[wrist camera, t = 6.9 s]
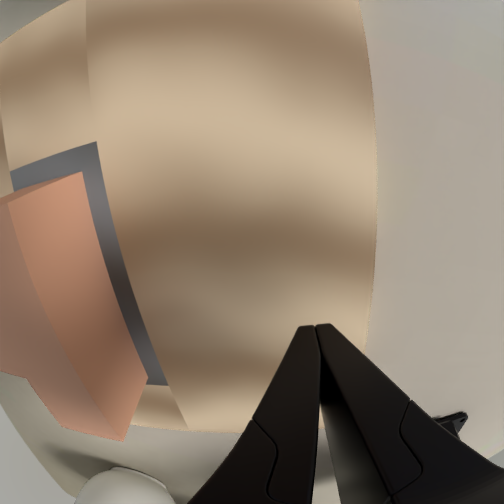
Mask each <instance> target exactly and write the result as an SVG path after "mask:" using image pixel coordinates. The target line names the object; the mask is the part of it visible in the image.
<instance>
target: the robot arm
mask: <svg viewBox="0 0 504 504" xmlns="http://www.w3.org/2000/svg"><path fill="white" fill-rule="evenodd" d="M320 408H321V413H322V417H323V422H324V426H325V430H326V435H327V439H328V444H329V449H330V453H331V458H332V462H333V467H334V472H335V477H336V481H337V486H338V491H339V496H340V501H341V504H504V468H501V467H499V466H497V465H495V464H494V463H492V462H490V461H489V460H487V459H486V458H485V457H483V456H482V455H480V454H479V453H478V452H476V451H475V450H473V449H472V448H471V447H469V446H468V445H466V444H465V443H464V442H462V441H461V440H460V437H459V435H458V432H459V431H460V429H461V428H462V426H463V425H464V423H465V422H466V420H467V419H468V416H467V414H466V413H465V412H464V413H461V414H458V415H455V416H452V417H449V418H446V419H443V420H439V421H435V420H434V419H432V418H431V417H430V416H429V415H428V414H427V413H426V412H425V411H423V410H422V409H421V408H420V407H419V406H418V405H417V404H416V403H415V402H414V401H413V400H410V398H409V397H408V396H407V395H406V394H405V393H404V392H403V391H402V390H401V389H400V388H399V387H398V386H397V385H396V384H395V383H394V382H393V381H392V380H390V379H389V378H388V377H387V376H386V375H385V374H384V373H383V372H382V371H381V370H380V369H379V368H378V367H377V366H376V365H375V364H374V363H373V362H371V361H370V360H369V359H368V358H367V357H366V356H365V355H364V354H363V353H362V352H361V351H360V350H359V349H358V348H357V347H356V346H355V345H353V344H352V343H351V342H350V341H349V340H348V339H347V338H346V337H345V336H344V335H343V334H342V333H341V332H340V331H339V330H338V329H337V328H335V327H334V326H333V325H332V324H331V323H324V324H317V325H315V326H314V325H303V326H299V327H298V328H297V330H296V332H295V334H294V336H293V338H292V340H291V342H290V344H289V347H288V349H287V351H286V353H285V355H284V357H283V359H282V361H281V363H280V365H279V367H278V369H277V371H276V372H275V374H274V376H273V378H272V380H271V382H270V384H269V386H268V388H267V390H266V392H265V394H264V395H263V397H262V399H261V401H260V403H259V405H258V407H257V409H256V410H255V412H254V414H253V416H252V420H250V421H249V423H248V424H247V426H246V428H245V430H244V432H243V433H242V435H241V436H240V438H239V440H238V441H237V443H236V444H235V446H234V448H233V449H232V451H231V452H230V453H229V455H228V456H227V457H226V458H225V460H224V461H223V462H222V464H221V465H220V466H219V468H218V469H217V470H216V471H215V472H214V474H213V475H212V476H211V477H210V478H209V479H208V481H207V482H206V483H205V484H204V485H203V486H202V487H201V489H200V490H199V491H198V492H197V493H196V494H195V495H194V496H193V498H192V499H191V500H190V501H189V502H188V503H187V504H312V496H313V487H314V477H315V467H316V456H317V443H318V429H319V413H320Z"/></svg>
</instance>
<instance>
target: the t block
mask: <svg viewBox="0 0 504 504" xmlns="http://www.w3.org/2000/svg"><path fill="white" fill-rule="evenodd" d="M0 371H2V372H5V373H8V374H12V375H15V376H19V377H22V378H26V379H27V380H28V382H29V383H30V385H31V386H32V388H33V389H34V391H35V392H36V393H37V395H38V396H39V398H40V399H41V400H42V402H43V403H44V404H45V406H46V407H47V408H48V410H49V411H50V412H51V414H52V415H53V416H54V417H55V419H56V420H57V421H58V422H59V424H60V425H61V426H62V427H65V428H68V429H72V430H75V431H79V432H83V433H87V434H91V435H95V436H99V437H103V438H108V439H112V440H117V441H122V442H123V441H124V438H125V436H126V433H127V430H128V428H129V425H130V422H131V420H132V417H133V415H134V412H135V409H136V407H137V404H138V402H139V399H140V397H141V394H142V392H143V389H144V387H145V384H146V382H147V379H148V376H147V373H146V371H145V369H144V367H143V364H142V362H141V360H140V358H139V355H138V353H137V351H136V348H135V346H134V343H133V341H132V338H131V336H130V333H129V331H128V328H127V326H126V323H125V320H124V318H123V315H122V312H121V310H120V307H119V304H118V301H117V298H116V296H115V293H114V290H113V287H112V284H111V281H110V278H109V275H108V271H107V268H106V265H105V262H104V258H103V255H102V252H101V248H100V245H99V241H98V237H97V234H96V230H95V226H94V222H93V218H92V214H91V210H90V206H89V202H88V197H87V193H86V188H85V184H84V179H83V174H82V171H81V172H77V173H73V174H70V175H66V176H62V177H59V178H55V179H52V180H48V181H45V182H41V183H38V184H35V185H32V186H28V187H25V188H22V189H20V190H17V191H15V192H13V193H11V194H8V195H6V196H4V197H2V198H0Z"/></svg>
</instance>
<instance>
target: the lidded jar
mask: <svg viewBox="0 0 504 504" xmlns="http://www.w3.org/2000/svg"><path fill="white" fill-rule="evenodd" d="M166 489H167V488H166V486H165V485H164V484H163V483H162V482H160V481H159V480H157V479H155V478H153V477H151V476H149V475H146V474H144V473H141V472H138V471H135V470H132V469H128V468H124V467H112V468H111V470H109V471H104V472H101V473H99V474H96V475H95V476H93V477H92V478H91V479H89V480H88V481H87V482H86V483H85V485H84V486H83V487H82V489H81V490H80V492H79V494H78V496H77V498H76V500H75V503H74V504H176V503H175V501H174V500H173V498H172V497H171V495H170V494H169V493H168V492H167V491H166Z"/></svg>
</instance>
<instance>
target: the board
mask: <svg viewBox="0 0 504 504" xmlns="http://www.w3.org/2000/svg"><path fill="white" fill-rule="evenodd" d="M81 171H82V174H83V179H84V184H85V188H86V193H87V197H88V202H89V206H90V210H91V214H92V218H93V222H94V226H95V230H96V234H97V237H98V241H99V245H100V248H101V252H102V255H103V258H104V262H105V265H106V268H107V271H108V275H109V278H110V281H111V284H112V287H113V290H114V293H115V296H116V298H117V301H118V304H119V307H120V310H121V312H122V315H123V318H124V320H125V323H126V326H127V328H128V331H129V333H130V336H131V338H132V341H133V343H134V346H135V348H136V351H137V353H138V355H139V358H140V360H141V362H142V364H143V367H144V369H145V371H146V373H147V376H148V379H147V382H146V384H145V387H144V389H143V392H142V394H141V397H140V399H139V402H138V404H137V407H136V409H135V412H134V415H133V417H132V420H131V422H130V424H131V425H138V426H145V427H153V428H162V429H172V430H183V431H197V432H220V433H243V432H244V430H245V428H246V426H247V424H248V423H249V421H250V420H252V416H253V414H254V412H255V410H256V409H257V407H258V405H259V403H260V401H261V399H262V397H263V395H264V394H265V392H266V390H267V388H268V386H269V384H270V382H271V380H272V378H273V376H274V374H275V372H276V371H277V369H278V367H279V365H280V363H281V361H282V359H283V357H284V355H285V353H286V351H287V349H288V347H289V344H290V342H291V340H292V338H293V336H294V334H295V332H296V330H297V328H298V327H299V326H303V325H314V326H315V325H317V324H324V323H331V324H332V325H333V326H334V327H335V328H337V329H338V330H339V331H340V332H341V333H342V334H343V335H344V336H345V337H346V338H347V339H348V340H349V341H350V342H351V343H352V344H353V345H355V346H356V347H357V348H358V349H359V350H360V351H361V352H362V353H363V354H365V347H366V341H367V334H368V326H369V318H370V310H371V300H372V291H373V279H374V267H375V252H376V231H377V148H376V129H375V114H374V102H373V91H372V82H371V73H370V65H369V58H368V51H367V44H366V38H365V32H364V26H363V21H362V16H361V10H360V6H359V1H358V0H69V1H67V2H65V3H63V4H61V5H59V6H57V7H55V8H54V9H52V10H50V11H48V12H47V13H45V14H43V15H42V16H40V17H38V18H37V19H35V20H33V21H32V22H30V23H29V24H27V25H25V26H24V27H22V28H21V29H19V30H18V31H16V32H15V33H14V34H12V35H11V36H9V37H8V38H6V39H5V40H4V41H2V42H1V43H0V198H2V197H4V196H6V195H8V194H11V193H13V192H15V191H17V190H20V189H22V188H25V187H28V186H32V185H35V184H38V183H41V182H45V181H48V180H52V179H55V178H59V177H62V176H66V175H70V174H73V173H77V172H81ZM322 428H325V426H324V422H323V417H322V413H321V408H320V413H319V429H322Z"/></svg>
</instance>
